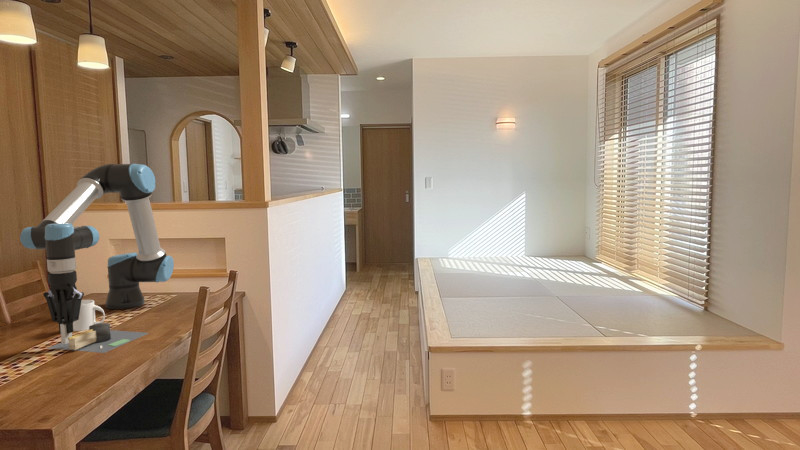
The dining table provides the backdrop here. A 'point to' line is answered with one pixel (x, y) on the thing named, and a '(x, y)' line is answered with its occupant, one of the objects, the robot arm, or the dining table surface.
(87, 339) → the dial lever
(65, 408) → the dining table surface
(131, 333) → the gauge board
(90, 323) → the mug
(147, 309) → the dining table surface
